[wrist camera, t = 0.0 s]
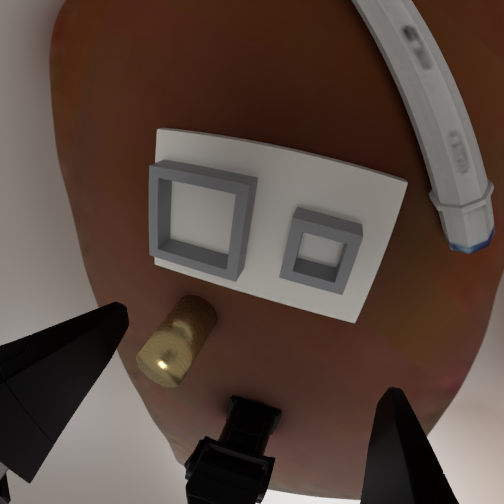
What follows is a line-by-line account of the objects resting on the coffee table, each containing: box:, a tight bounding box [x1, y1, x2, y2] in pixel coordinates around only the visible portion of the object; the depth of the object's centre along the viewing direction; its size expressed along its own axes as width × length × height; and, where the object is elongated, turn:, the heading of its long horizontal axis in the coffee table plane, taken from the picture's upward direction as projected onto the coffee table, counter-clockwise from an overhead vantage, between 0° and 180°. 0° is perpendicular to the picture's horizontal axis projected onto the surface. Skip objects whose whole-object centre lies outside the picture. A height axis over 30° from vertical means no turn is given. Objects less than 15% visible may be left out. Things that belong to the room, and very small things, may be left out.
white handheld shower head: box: [352, 0, 495, 254], centre depth 13 cm, size 5×7×25 cm
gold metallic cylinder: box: [136, 295, 217, 388], centre depth 26 cm, size 4×4×8 cm
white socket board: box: [149, 128, 408, 323], centre depth 22 cm, size 12×18×3 cm, turn 82°
